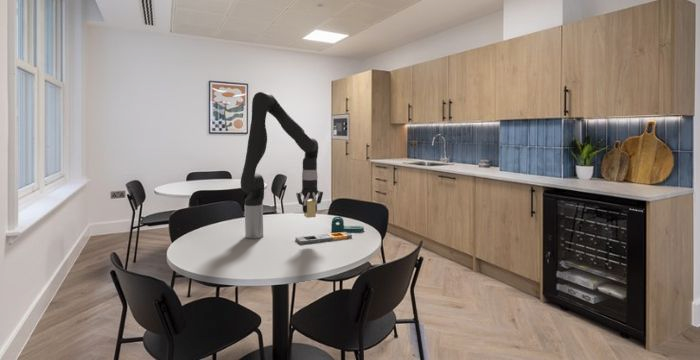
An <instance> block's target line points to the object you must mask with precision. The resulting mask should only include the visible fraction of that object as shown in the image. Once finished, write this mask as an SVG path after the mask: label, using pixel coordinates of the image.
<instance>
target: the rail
mask: <svg viewBox="0 0 700 360" xmlns="http://www.w3.org/2000/svg"><path fill="white" fill-rule="evenodd" d="M352 238H353V235H352V234H351V233H350V232H331V233H323V234H322V233H321V234H313V235H307V236H298V237H297V236H296V237H295V238H294V239H295V242H296V243H298V244H299V245H305V244H306V245H307V244H316V243H323V242H331V241H332V240H333V241H338V240H339V239H340V240H346V239H347V240H348V239H352ZM340 240H339V241H340Z"/></svg>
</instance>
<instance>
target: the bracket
mask: <svg viewBox="0 0 700 360" xmlns="http://www.w3.org/2000/svg"><path fill="white" fill-rule="evenodd" d="M364 231H365V226H361V225H345V224H344V218H343V217H342V216H340V215H338V216H334V217H333V218H332V220H331V233H338V232H347V233H363V232H364Z"/></svg>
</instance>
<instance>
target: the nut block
mask: <svg viewBox="0 0 700 360" xmlns="http://www.w3.org/2000/svg"><path fill="white" fill-rule="evenodd" d="M316 201H317V200H316ZM316 201H313V200H312V199H308V201H307V202H306V213H304V212H303V216H304V217H306V218H307V219H309V218H310V219H311V218H316V215H317V214H316V212H317V211H316Z"/></svg>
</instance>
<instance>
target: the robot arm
mask: <svg viewBox="0 0 700 360" xmlns="http://www.w3.org/2000/svg"><path fill="white" fill-rule="evenodd" d="M251 103H252V104H251V121H250V127H249V134H248V139H247V146H246V147H247V148H246V154H245V160H244V166H243V170H242V172H241V177H240V188H241V190H242V191H243V192H244V193H249V195H248V196H247V197H246V198H245V199H244V205H243V206H244V231H245V238H246V239H254V240H255V239H261V238H264V207H263V205H264V204H263V202H264V199H265V179H264V178H263V176H262V175H261V174H260V173H256V170H257V167H258V164H259V162H260V161H261V160H262V158H263V157H264V155H265V153H266V149H267V143H268V133H267V128H266V121H267V120H266V119H267V114H268V113H269V114H270V115H271V116H272V117H274V118H275V119H276V120H277V122H278V124H279V125H280V127H281V128H282V130H283V131H284V132H285V133H286V134H287V135H288V136H290V138H291V139H293V140H294V142H295V144H296V145H297V146H298V147H299V148H300V149H301V150H302V151H303V152H304V158H303V159H302V173H301V183H302V184H301V185H302V186H301V191H299V192H296V193H295V194H296V198H297V201H298V204H299V205H301V206H302V212H303V214H304V213H306V202H307V201H308V200H313V201H316V212H317V211H318V205H319V204H321V202H322V200H323V199H322V198H323V195H324V192H323V191H319V190H318V162H317V160H318V156H319V155H318V154H319V142H318V141H317V140H316V139H315V138H312V137H310V136H308V134H307V133H306V131H305V130H304V129H303V127H302V126H300V124H299V123H297V122H296V121H295V120H294V119H293V118H292V117H291V116H290V114H288V112H286V110H285V109H284V108H283V107H282V106H281V105H280V103H279V102H278V100H277V99H276V98H275V96H274V95H273V94H272V93H270V92H267V91H266V92H263V91H260V92H259V91H258V92H256V93H255V94H254V96H253V98H252V102H251ZM316 196H317V197H316ZM302 197H303V198H302Z"/></svg>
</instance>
